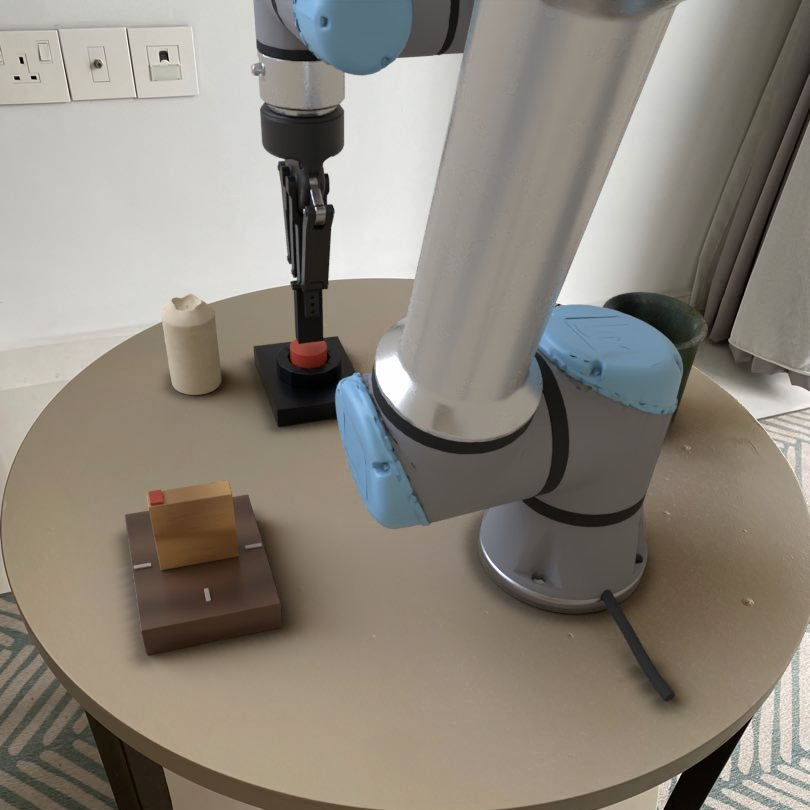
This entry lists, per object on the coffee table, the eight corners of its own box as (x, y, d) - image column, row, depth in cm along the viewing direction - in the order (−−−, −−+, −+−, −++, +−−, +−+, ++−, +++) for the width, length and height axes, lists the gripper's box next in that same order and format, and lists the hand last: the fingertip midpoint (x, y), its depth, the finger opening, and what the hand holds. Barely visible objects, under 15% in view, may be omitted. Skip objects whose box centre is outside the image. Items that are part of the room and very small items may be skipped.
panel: (282, 627, 72) (280, 601, 70) (146, 655, 70) (140, 629, 67) (250, 518, 82) (248, 492, 80) (129, 538, 79) (124, 512, 77)
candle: (164, 391, 96) (150, 309, 89) (182, 365, 100) (170, 285, 93) (212, 399, 96) (202, 317, 89) (228, 372, 100) (220, 292, 93)
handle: (235, 542, 75) (228, 477, 70) (239, 556, 74) (232, 491, 69) (158, 556, 73) (145, 490, 68) (160, 570, 72) (147, 505, 67)
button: (331, 367, 95) (331, 353, 94) (295, 371, 94) (294, 357, 93) (322, 348, 98) (321, 334, 96) (287, 352, 97) (286, 338, 95)
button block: (368, 413, 95) (369, 382, 92) (278, 427, 92) (276, 395, 90) (337, 352, 104) (337, 322, 101) (254, 362, 101) (252, 332, 99)
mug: (660, 385, 102) (688, 291, 94) (700, 463, 92) (736, 365, 84) (570, 385, 101) (590, 290, 93) (600, 463, 91) (626, 364, 83)
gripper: (246, 83, 81) (262, 314, 97) (275, 129, 72) (288, 375, 88) (325, 80, 83) (328, 306, 99) (362, 124, 74) (359, 366, 90)
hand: (309, 338), depth 94 cm, fingers closed
